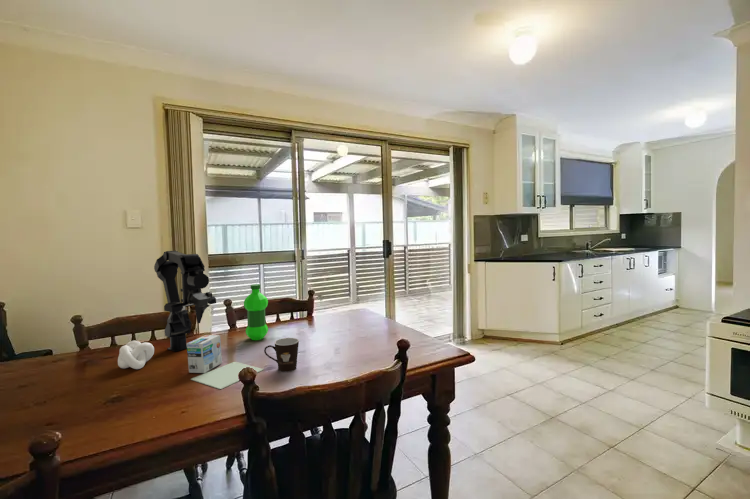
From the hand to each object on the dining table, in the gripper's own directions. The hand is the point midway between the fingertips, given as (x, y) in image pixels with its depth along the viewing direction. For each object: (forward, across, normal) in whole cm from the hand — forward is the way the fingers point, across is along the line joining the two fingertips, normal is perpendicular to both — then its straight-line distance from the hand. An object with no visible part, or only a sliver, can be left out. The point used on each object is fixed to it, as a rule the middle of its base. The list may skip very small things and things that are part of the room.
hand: (192, 324), depth 146 cm
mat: (+13, -5, -27) cm, 31 cm away
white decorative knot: (+13, -16, +10) cm, 23 cm away
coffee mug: (+13, +9, -40) cm, 43 cm away
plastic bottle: (+13, +29, -4) cm, 32 cm away
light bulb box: (+13, -5, -15) cm, 20 cm away
